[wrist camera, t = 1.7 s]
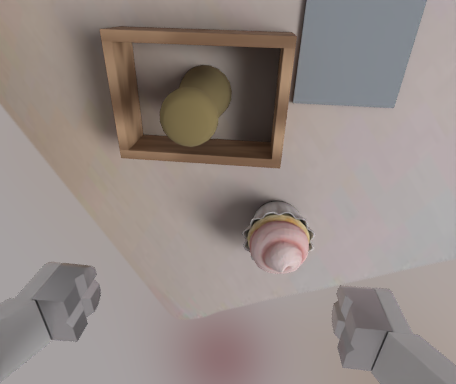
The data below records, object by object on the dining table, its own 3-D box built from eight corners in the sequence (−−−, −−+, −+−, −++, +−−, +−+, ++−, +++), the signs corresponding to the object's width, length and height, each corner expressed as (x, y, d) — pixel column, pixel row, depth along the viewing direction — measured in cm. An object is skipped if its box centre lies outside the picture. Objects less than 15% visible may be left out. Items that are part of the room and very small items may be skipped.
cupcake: (254, 249, 47) (252, 303, 38) (235, 199, 42) (228, 247, 34) (316, 238, 44) (329, 293, 36) (303, 184, 40) (314, 231, 32)
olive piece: (171, 101, 36) (139, 134, 27) (194, 53, 33) (168, 71, 24) (215, 128, 37) (199, 168, 28) (241, 84, 34) (234, 112, 25)
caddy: (120, 26, 33) (99, 29, 28) (292, 32, 31) (296, 36, 27) (136, 141, 39) (121, 157, 35) (278, 150, 38) (280, 168, 34)
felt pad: (308, -15, 29) (308, -15, 29) (428, -12, 28) (430, -12, 28) (292, 102, 35) (293, 102, 35) (392, 107, 34) (393, 108, 34)
